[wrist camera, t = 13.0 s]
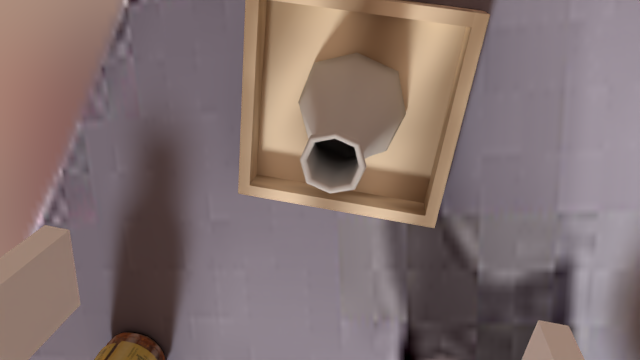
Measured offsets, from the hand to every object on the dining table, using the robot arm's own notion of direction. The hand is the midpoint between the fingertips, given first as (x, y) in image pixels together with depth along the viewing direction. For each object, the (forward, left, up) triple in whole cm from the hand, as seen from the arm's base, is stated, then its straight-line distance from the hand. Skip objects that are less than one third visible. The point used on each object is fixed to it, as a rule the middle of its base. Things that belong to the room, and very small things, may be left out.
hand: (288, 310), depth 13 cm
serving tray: (0, 0, -21) cm, 21 cm away
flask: (0, 0, -20) cm, 20 cm away
